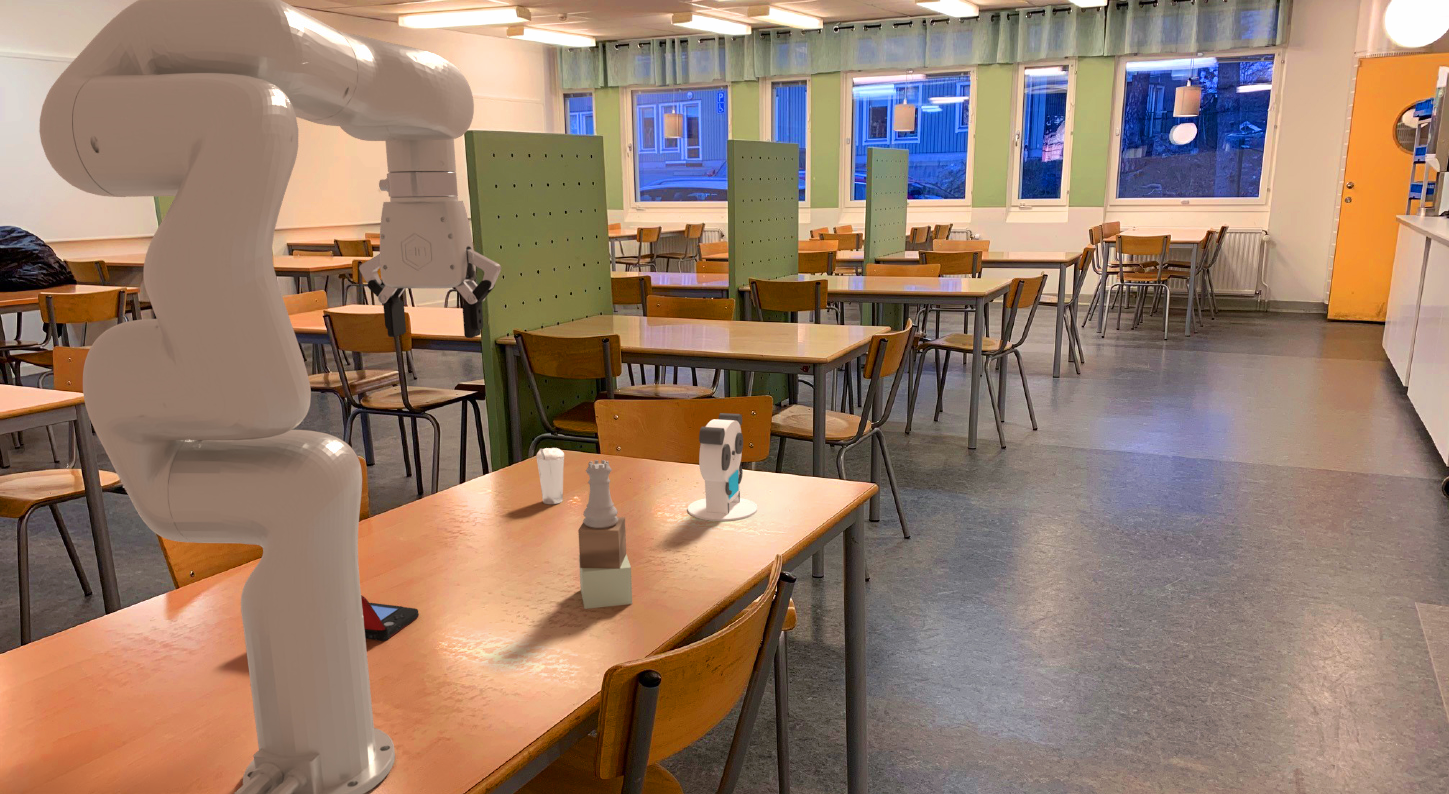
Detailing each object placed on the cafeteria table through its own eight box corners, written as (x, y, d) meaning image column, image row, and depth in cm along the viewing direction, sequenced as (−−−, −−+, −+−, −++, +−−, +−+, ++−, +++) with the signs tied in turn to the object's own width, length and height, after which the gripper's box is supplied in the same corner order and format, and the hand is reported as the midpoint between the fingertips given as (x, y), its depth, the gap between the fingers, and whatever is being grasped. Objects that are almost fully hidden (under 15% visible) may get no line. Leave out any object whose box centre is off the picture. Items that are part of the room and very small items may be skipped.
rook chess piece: (619, 528, 121) (617, 466, 119) (583, 531, 120) (580, 468, 118) (617, 517, 125) (615, 457, 123) (582, 519, 124) (580, 458, 123)
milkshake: (531, 506, 161) (528, 447, 159) (546, 496, 166) (543, 439, 164) (556, 508, 159) (553, 449, 157) (571, 498, 164) (568, 441, 162)
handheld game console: (423, 617, 120) (418, 560, 118) (368, 657, 110) (362, 595, 108) (337, 606, 123) (332, 551, 122) (276, 643, 113) (269, 584, 112)
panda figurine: (744, 525, 150) (743, 431, 147) (676, 518, 154) (673, 426, 151) (765, 501, 161) (765, 413, 158) (701, 496, 165) (699, 410, 162)
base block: (632, 604, 122) (631, 567, 121) (584, 609, 121) (582, 572, 120) (626, 586, 128) (625, 550, 127) (580, 590, 127) (578, 554, 126)
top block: (619, 568, 121) (618, 530, 120) (580, 568, 121) (578, 530, 120) (626, 553, 126) (625, 517, 125) (588, 553, 126) (586, 516, 125)
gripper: (336, 190, 110) (351, 339, 113) (480, 187, 107) (490, 341, 110) (371, 189, 117) (383, 330, 121) (507, 187, 114) (515, 332, 118)
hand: (434, 335), depth 116 cm, fingers open, 9 cm apart
